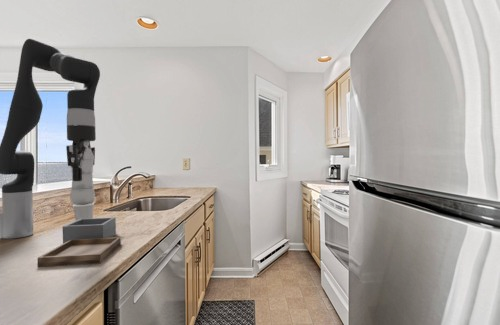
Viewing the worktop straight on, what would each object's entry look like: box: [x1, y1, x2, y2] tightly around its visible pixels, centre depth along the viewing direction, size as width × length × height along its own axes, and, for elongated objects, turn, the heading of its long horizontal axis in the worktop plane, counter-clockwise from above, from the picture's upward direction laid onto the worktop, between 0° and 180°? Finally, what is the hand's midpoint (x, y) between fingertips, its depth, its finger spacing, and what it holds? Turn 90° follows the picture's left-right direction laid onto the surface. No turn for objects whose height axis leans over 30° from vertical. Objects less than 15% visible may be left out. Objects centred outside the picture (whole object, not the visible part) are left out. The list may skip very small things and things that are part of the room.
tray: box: [37, 236, 122, 268], centre depth 87 cm, size 16×18×2 cm
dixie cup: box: [72, 202, 95, 221], centre depth 126 cm, size 8×8×10 cm
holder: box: [62, 217, 117, 244], centre depth 104 cm, size 13×13×6 cm
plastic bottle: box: [69, 141, 96, 205], centre depth 87 cm, size 6×7×20 cm
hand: (82, 180), depth 87 cm, fingers closed on plastic bottle, 6 cm apart
